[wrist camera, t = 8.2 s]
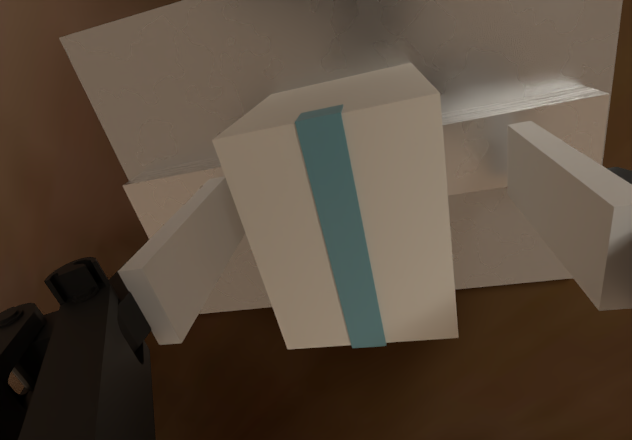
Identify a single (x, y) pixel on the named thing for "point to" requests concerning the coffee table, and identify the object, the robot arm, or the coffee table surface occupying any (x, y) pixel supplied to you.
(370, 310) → the block
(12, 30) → the coffee table surface
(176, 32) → the grey flat board
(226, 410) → the coffee table surface
